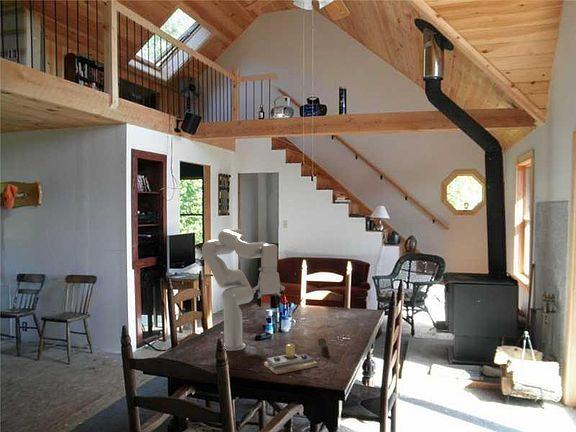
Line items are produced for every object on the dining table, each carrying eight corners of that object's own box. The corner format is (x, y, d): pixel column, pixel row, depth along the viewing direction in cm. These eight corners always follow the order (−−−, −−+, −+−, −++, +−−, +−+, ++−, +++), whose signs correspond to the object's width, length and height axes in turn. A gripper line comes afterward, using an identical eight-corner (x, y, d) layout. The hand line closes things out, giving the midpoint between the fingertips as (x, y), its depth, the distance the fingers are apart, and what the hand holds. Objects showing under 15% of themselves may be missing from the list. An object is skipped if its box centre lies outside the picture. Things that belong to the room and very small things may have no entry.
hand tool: (318, 345, 226) (318, 336, 226) (325, 345, 226) (325, 336, 226) (319, 357, 208) (318, 348, 207) (327, 357, 207) (327, 348, 207)
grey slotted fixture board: (267, 363, 195) (267, 356, 195) (305, 356, 205) (305, 349, 205) (274, 368, 188) (274, 361, 188) (313, 361, 198) (313, 354, 198)
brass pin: (284, 361, 197) (284, 344, 197) (292, 360, 199) (292, 343, 199) (288, 364, 194) (288, 346, 194) (296, 362, 196) (296, 345, 196)
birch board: (264, 365, 197) (264, 361, 197) (303, 357, 207) (303, 354, 207) (276, 374, 186) (276, 371, 186) (317, 366, 196) (317, 362, 196)
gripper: (255, 272, 197) (254, 308, 198) (288, 270, 205) (287, 305, 206) (249, 269, 204) (248, 305, 204) (281, 267, 212) (280, 301, 212)
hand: (268, 305), depth 205 cm, fingers open, 9 cm apart
